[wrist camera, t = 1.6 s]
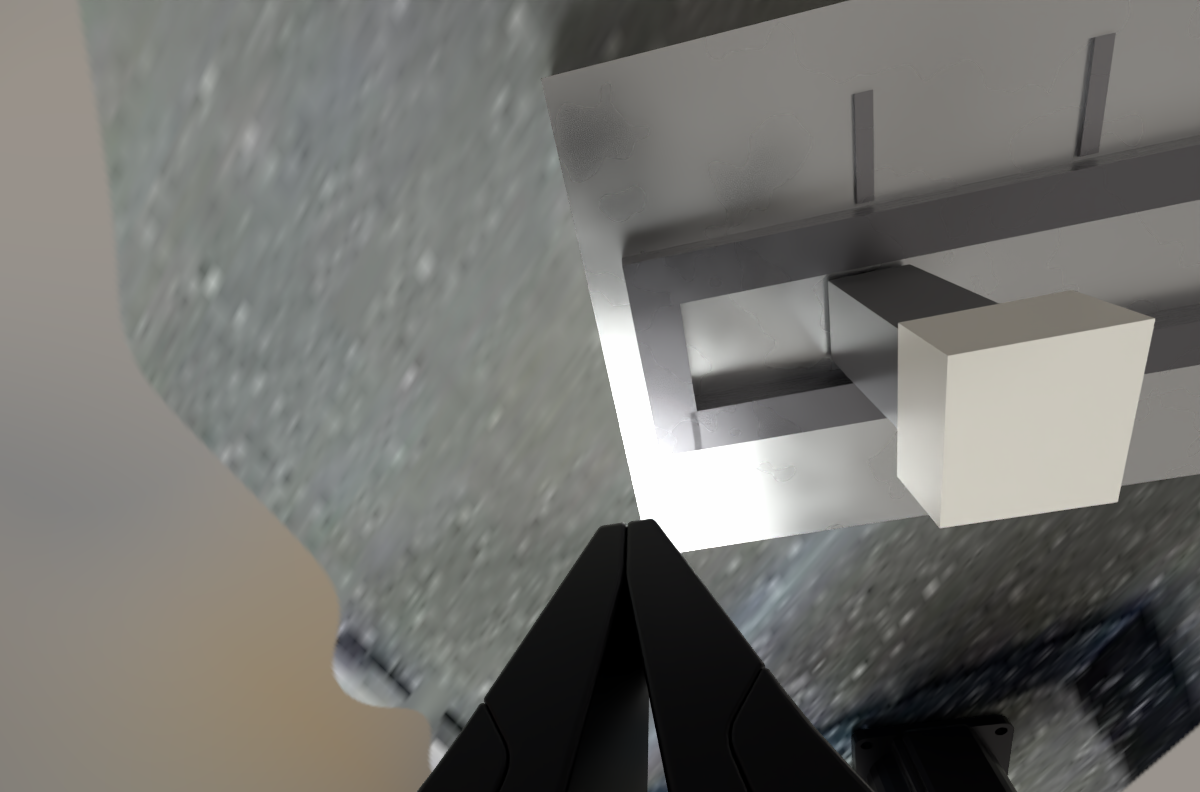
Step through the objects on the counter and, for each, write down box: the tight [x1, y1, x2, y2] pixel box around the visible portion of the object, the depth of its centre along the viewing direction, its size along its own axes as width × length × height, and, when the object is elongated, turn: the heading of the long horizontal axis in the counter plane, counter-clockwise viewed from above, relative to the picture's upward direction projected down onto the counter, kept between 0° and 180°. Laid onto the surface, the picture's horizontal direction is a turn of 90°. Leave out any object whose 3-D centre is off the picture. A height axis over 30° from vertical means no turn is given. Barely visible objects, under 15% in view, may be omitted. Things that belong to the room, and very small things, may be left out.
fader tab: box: [828, 264, 1155, 528], centre depth 12 cm, size 3×3×6 cm
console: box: [541, 0, 1200, 552], centre depth 15 cm, size 14×24×3 cm, turn 102°
